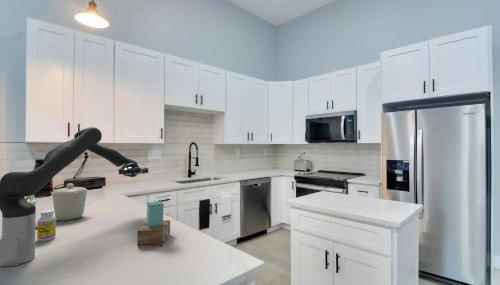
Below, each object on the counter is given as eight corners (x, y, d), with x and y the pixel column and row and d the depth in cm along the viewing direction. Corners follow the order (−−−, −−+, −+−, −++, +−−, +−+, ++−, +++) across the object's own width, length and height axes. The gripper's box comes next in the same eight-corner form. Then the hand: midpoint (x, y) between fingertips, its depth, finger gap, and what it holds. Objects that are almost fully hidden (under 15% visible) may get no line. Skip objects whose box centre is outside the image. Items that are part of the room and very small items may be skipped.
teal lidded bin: (163, 225, 111) (163, 203, 111) (148, 228, 108) (148, 205, 108) (160, 222, 117) (160, 201, 117) (146, 224, 113) (146, 202, 114)
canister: (42, 221, 142) (42, 184, 142) (71, 213, 159) (72, 180, 160) (67, 223, 137) (67, 186, 138) (94, 215, 155) (95, 181, 155)
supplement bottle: (33, 242, 110) (34, 213, 111) (41, 237, 117) (42, 210, 117) (51, 240, 112) (51, 212, 112) (58, 235, 119) (58, 209, 119)
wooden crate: (162, 246, 105) (162, 229, 106) (137, 247, 105) (137, 230, 105) (170, 234, 120) (170, 220, 120) (148, 235, 119) (148, 220, 119)
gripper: (117, 163, 136) (119, 165, 122) (145, 162, 143) (149, 164, 129) (117, 177, 136) (119, 180, 122) (145, 175, 143) (149, 178, 129)
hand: (135, 172), depth 126 cm, fingers open, 8 cm apart
